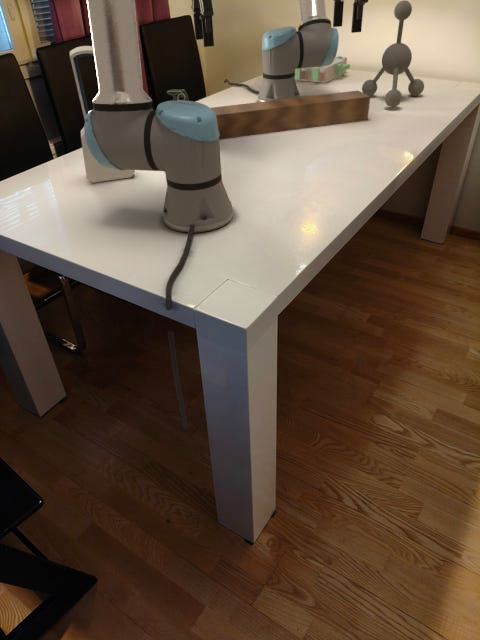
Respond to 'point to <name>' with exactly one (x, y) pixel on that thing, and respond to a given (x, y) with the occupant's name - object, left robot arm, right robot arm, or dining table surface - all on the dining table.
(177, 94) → the grenade
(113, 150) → the left robot arm
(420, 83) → the molecular model
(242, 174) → the dining table surface
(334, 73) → the decorative block
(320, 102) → the wide beam
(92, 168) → the electronic device
